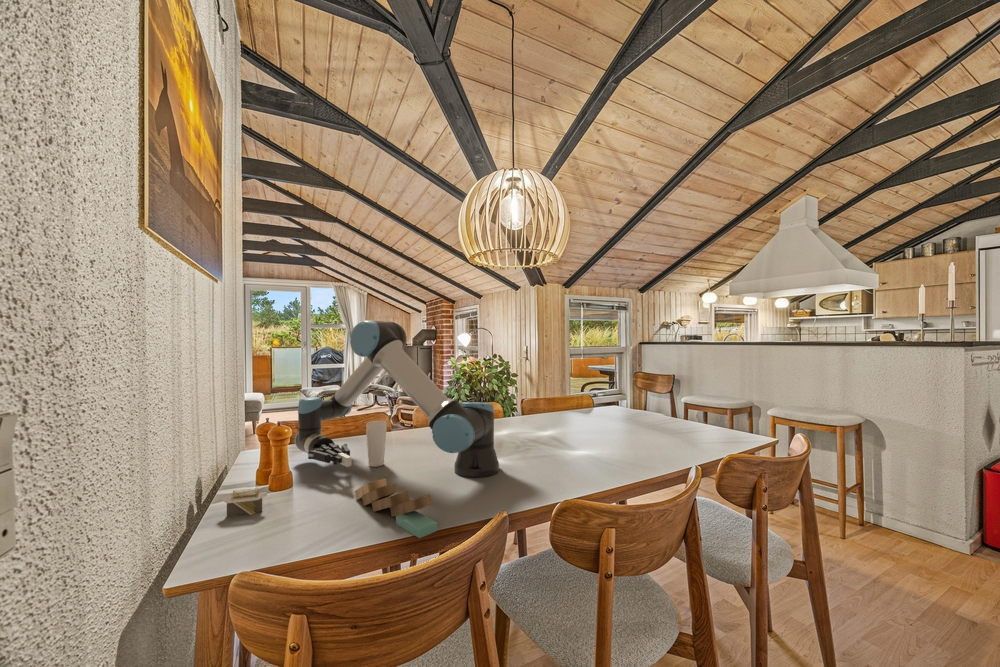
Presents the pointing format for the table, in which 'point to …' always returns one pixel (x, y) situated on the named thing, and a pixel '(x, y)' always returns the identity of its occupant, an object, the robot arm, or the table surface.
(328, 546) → the table surface
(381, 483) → the domino
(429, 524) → the domino
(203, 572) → the table surface
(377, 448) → the drinking glass
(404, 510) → the domino
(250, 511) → the platform
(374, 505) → the domino
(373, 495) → the domino
